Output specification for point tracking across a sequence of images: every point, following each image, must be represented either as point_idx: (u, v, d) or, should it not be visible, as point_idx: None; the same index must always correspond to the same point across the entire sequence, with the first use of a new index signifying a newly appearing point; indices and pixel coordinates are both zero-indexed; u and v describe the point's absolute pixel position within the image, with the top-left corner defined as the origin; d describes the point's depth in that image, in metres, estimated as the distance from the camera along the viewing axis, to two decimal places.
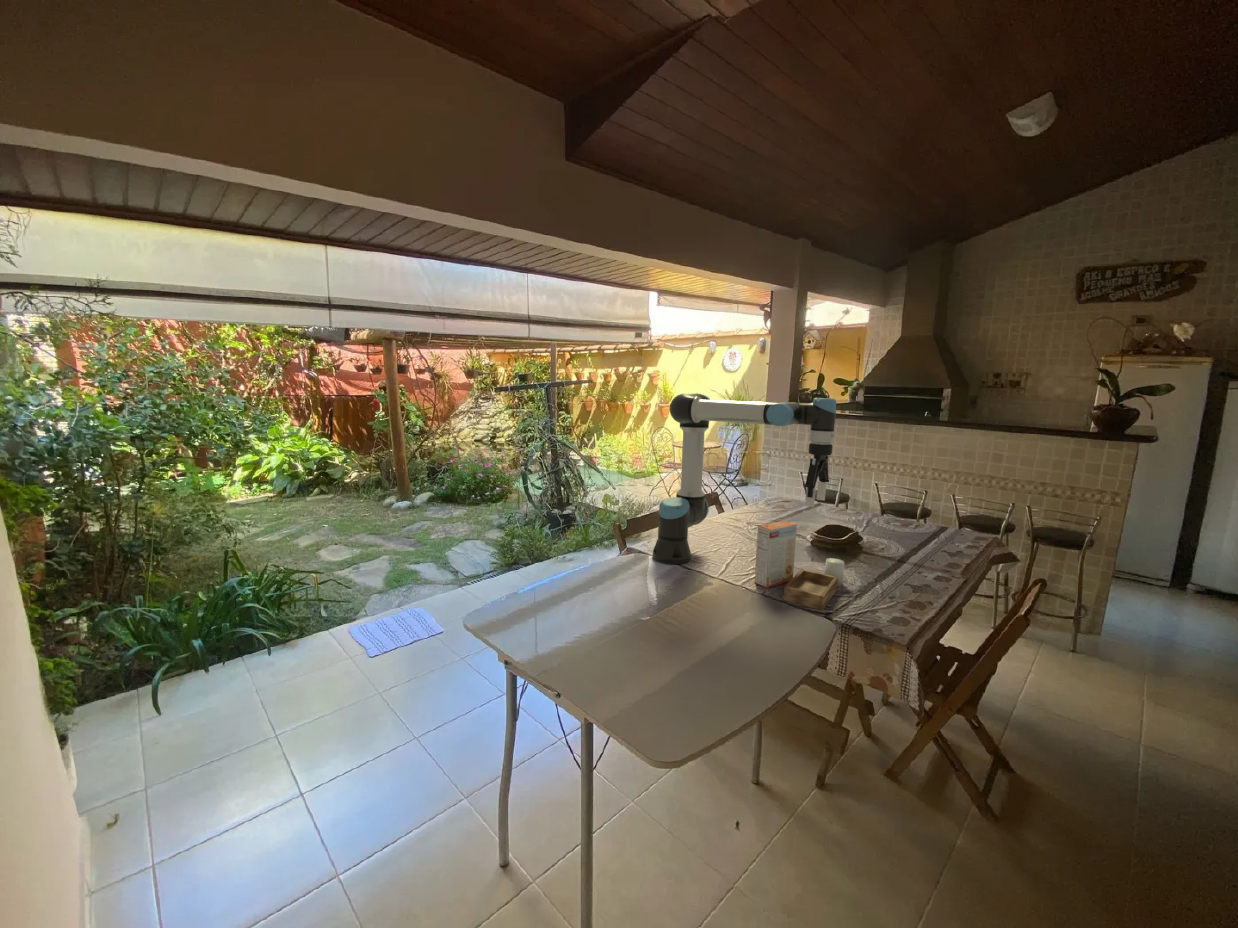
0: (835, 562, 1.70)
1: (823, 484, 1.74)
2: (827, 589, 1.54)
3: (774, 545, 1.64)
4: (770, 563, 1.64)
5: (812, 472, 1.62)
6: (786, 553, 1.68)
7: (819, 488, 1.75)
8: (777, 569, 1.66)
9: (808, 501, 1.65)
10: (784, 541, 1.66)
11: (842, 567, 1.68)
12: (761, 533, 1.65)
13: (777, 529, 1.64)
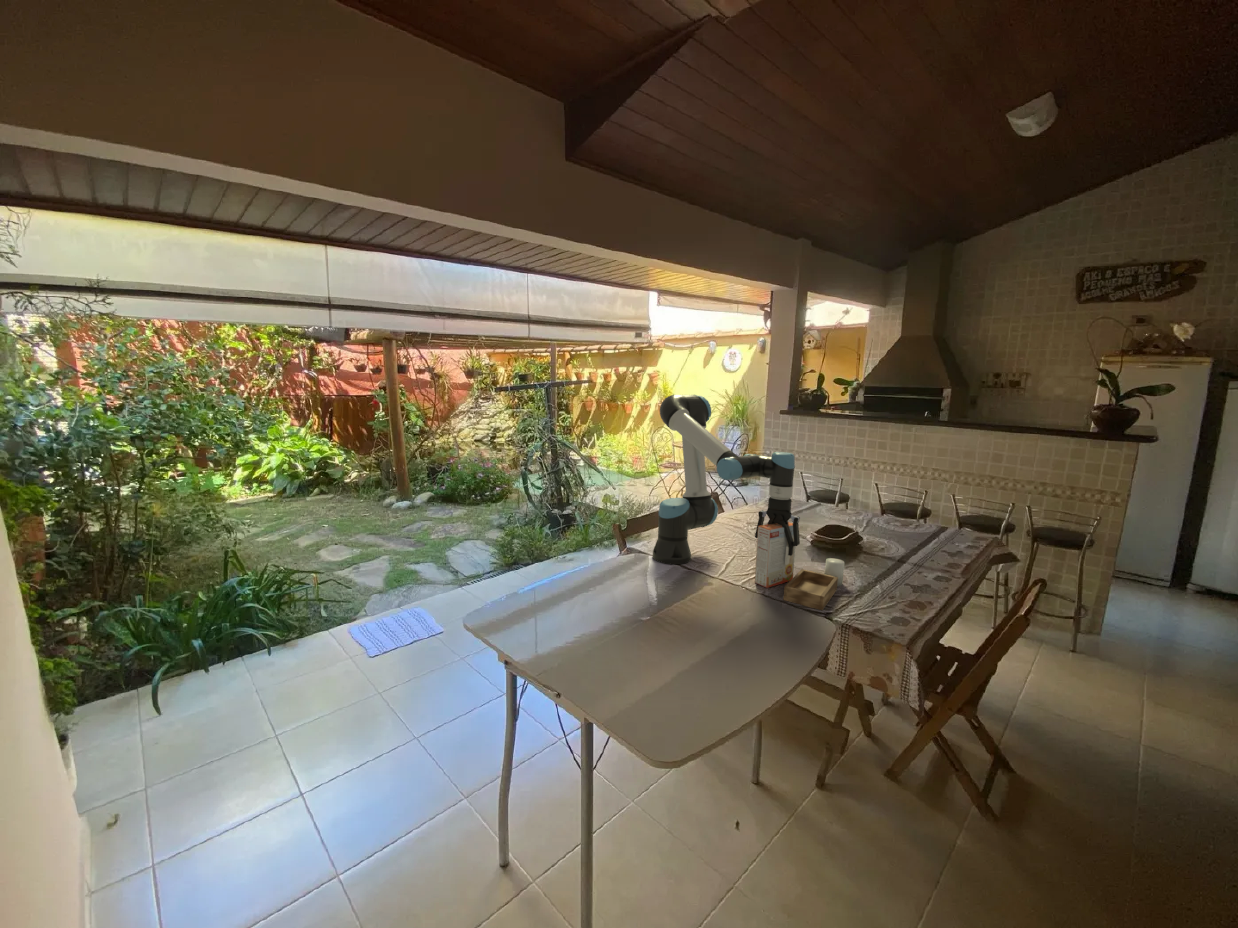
0: (835, 562, 1.70)
1: None
2: (827, 589, 1.54)
3: (774, 545, 1.64)
4: (770, 563, 1.64)
5: None
6: None
7: None
8: (777, 569, 1.66)
9: None
10: (784, 541, 1.66)
11: (842, 567, 1.68)
12: (761, 533, 1.65)
13: (777, 529, 1.64)
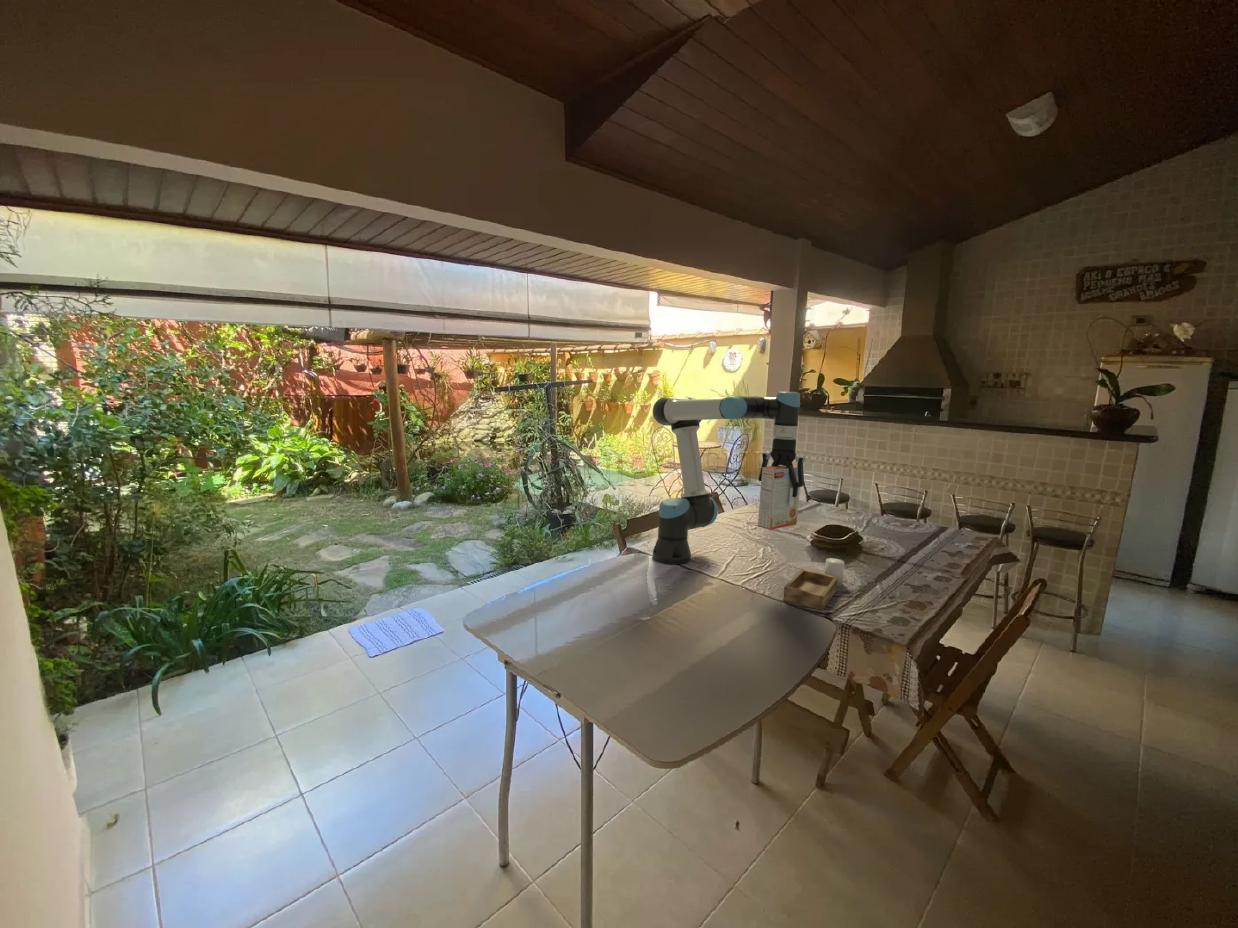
0: (835, 562, 1.70)
1: None
2: (827, 589, 1.54)
3: (778, 486, 1.61)
4: (774, 504, 1.61)
5: None
6: None
7: None
8: (781, 511, 1.64)
9: None
10: (788, 482, 1.63)
11: (842, 567, 1.68)
12: (766, 474, 1.62)
13: (782, 469, 1.61)
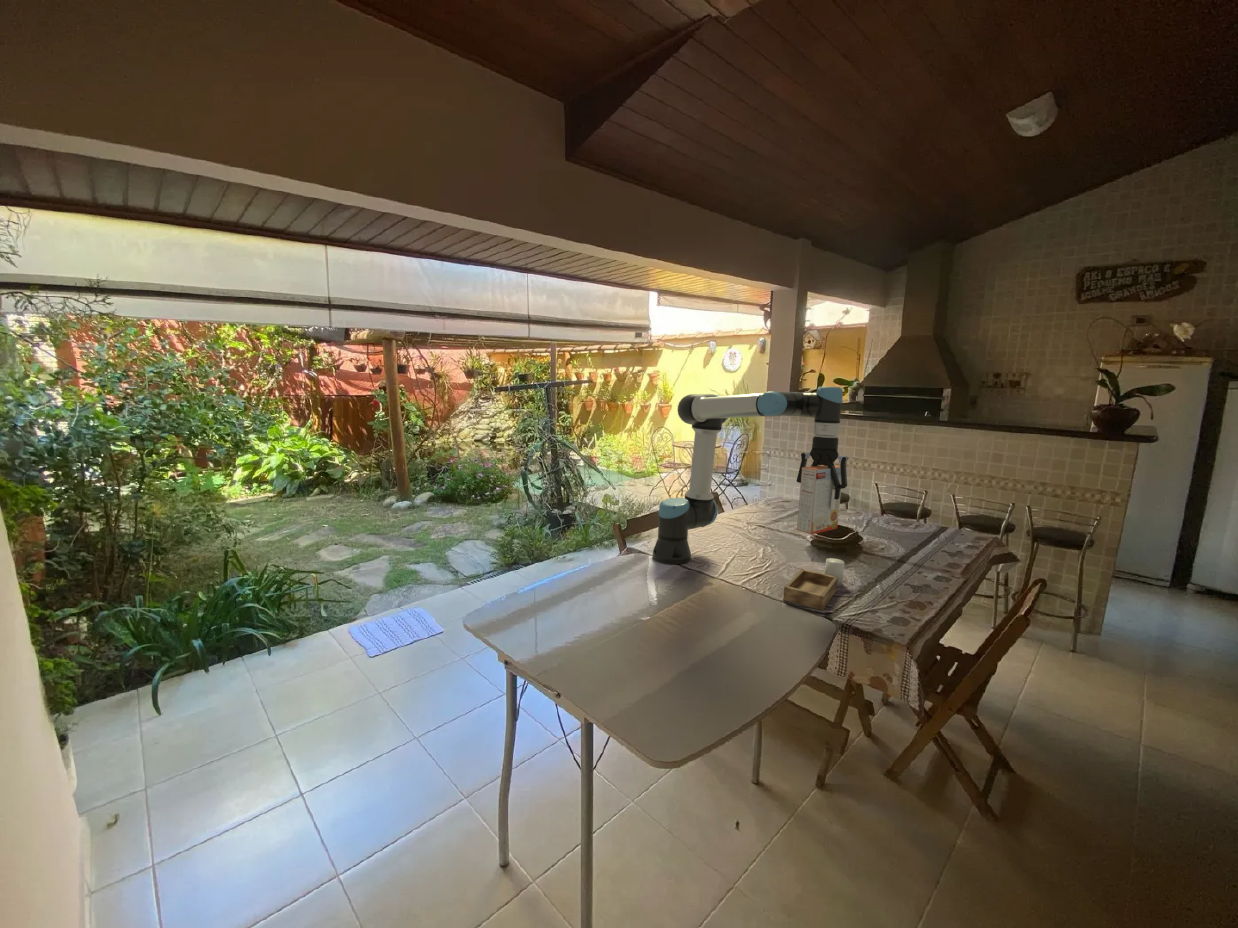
0: (835, 562, 1.70)
1: None
2: (827, 589, 1.54)
3: (820, 487, 1.50)
4: (816, 507, 1.51)
5: None
6: None
7: None
8: (822, 514, 1.53)
9: None
10: (830, 484, 1.53)
11: (842, 567, 1.68)
12: (806, 475, 1.51)
13: (824, 470, 1.50)
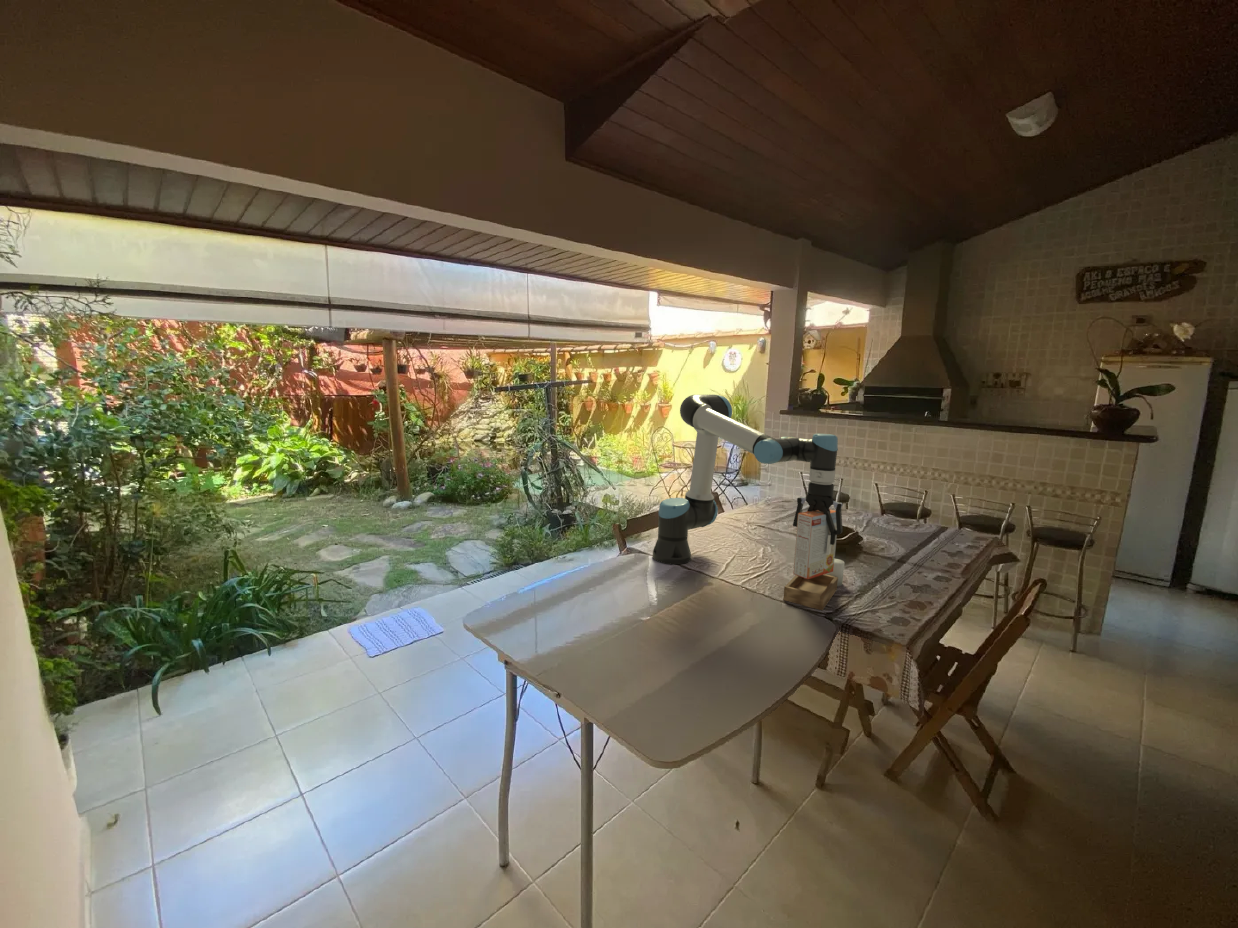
0: (835, 562, 1.70)
1: None
2: (827, 589, 1.54)
3: (816, 534, 1.53)
4: (812, 552, 1.53)
5: None
6: None
7: None
8: (818, 559, 1.55)
9: None
10: (826, 529, 1.55)
11: (842, 567, 1.68)
12: (802, 521, 1.54)
13: (819, 516, 1.52)
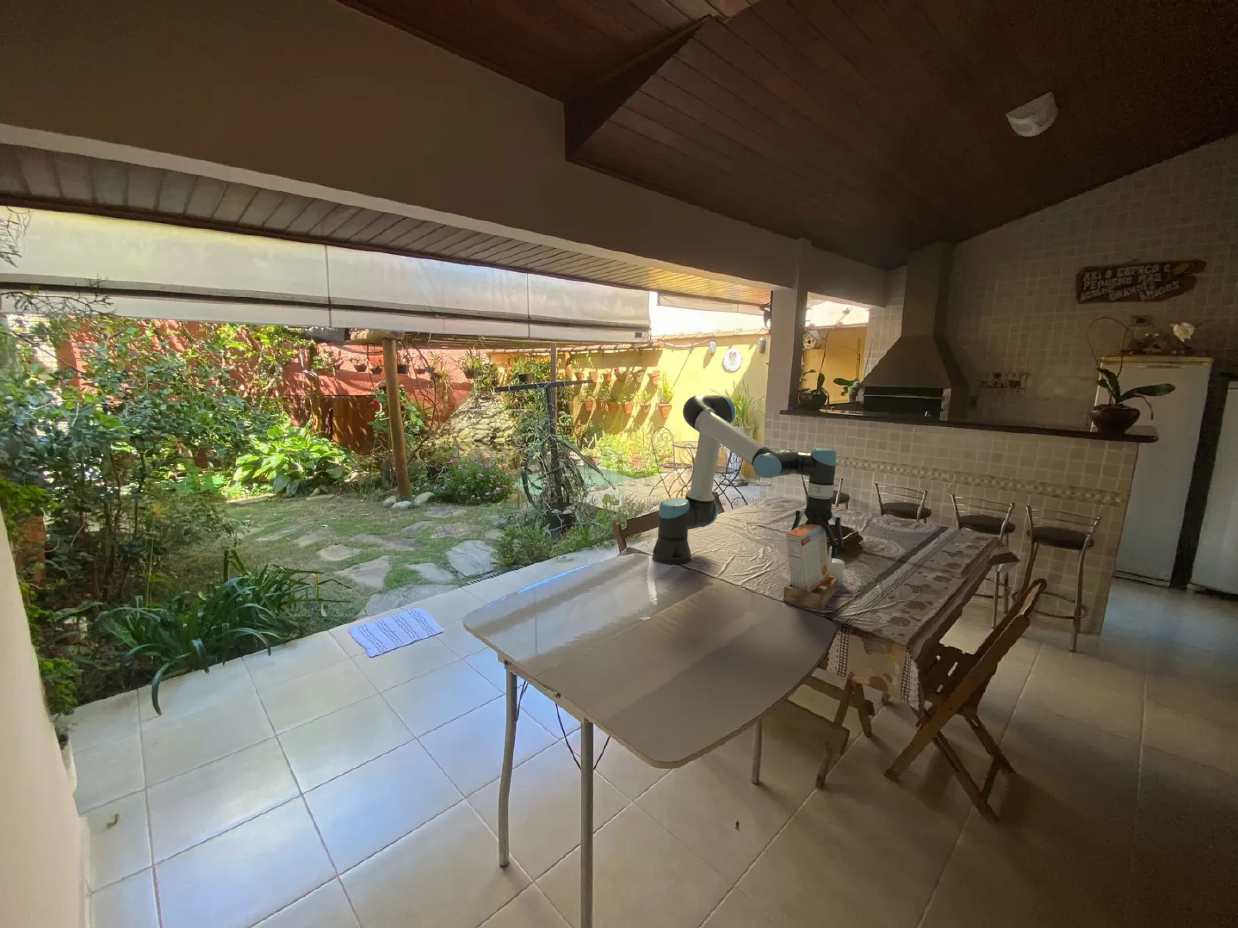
0: (835, 562, 1.70)
1: None
2: (827, 589, 1.54)
3: (807, 551, 1.52)
4: (806, 570, 1.53)
5: None
6: (819, 554, 1.57)
7: None
8: (813, 573, 1.55)
9: None
10: (816, 543, 1.55)
11: (842, 567, 1.68)
12: (791, 541, 1.53)
13: (807, 534, 1.52)
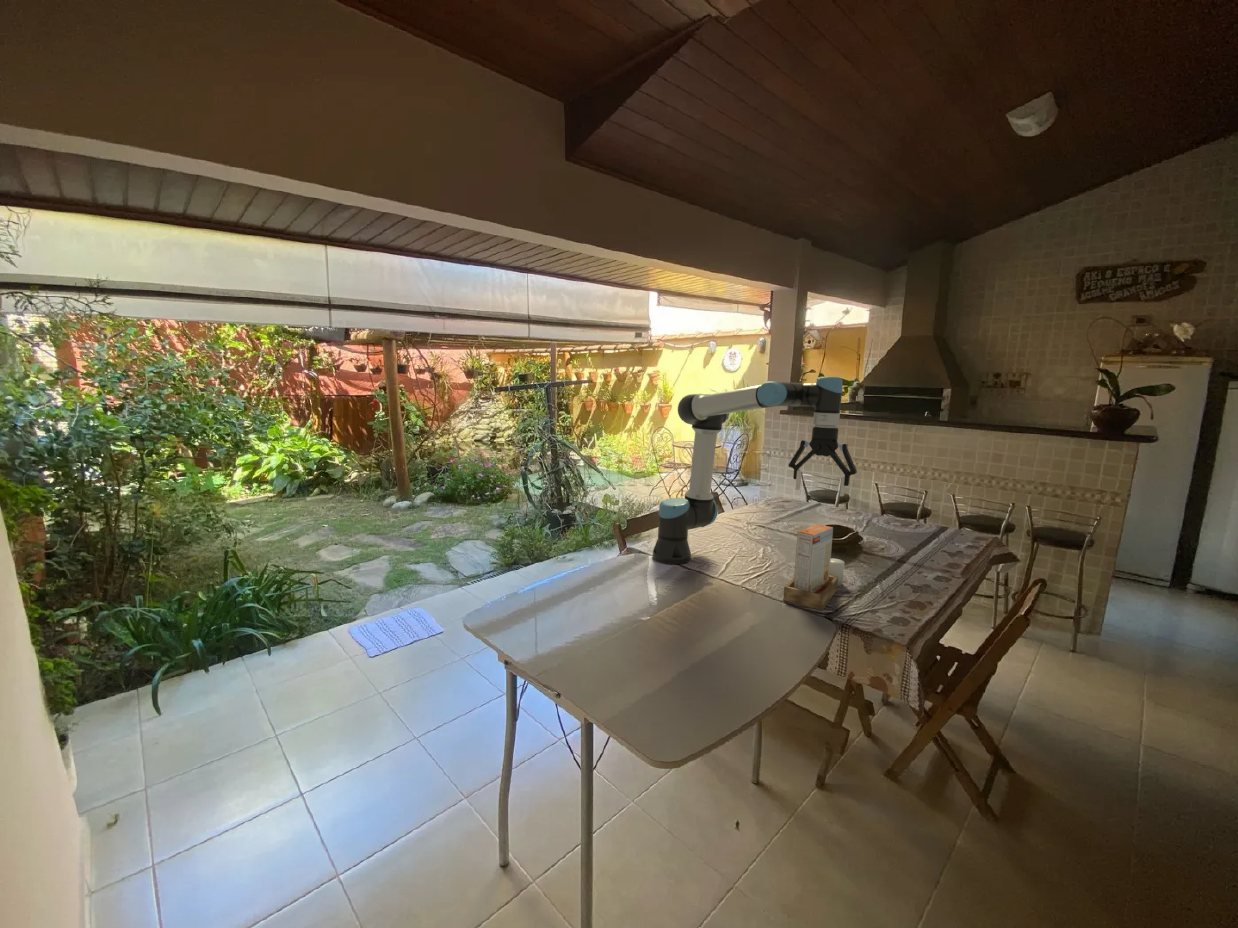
0: (835, 562, 1.70)
1: None
2: (827, 589, 1.54)
3: (816, 551, 1.54)
4: (812, 570, 1.54)
5: None
6: (824, 558, 1.59)
7: None
8: (817, 576, 1.57)
9: None
10: (823, 546, 1.57)
11: (842, 567, 1.68)
12: (802, 539, 1.55)
13: (818, 534, 1.54)
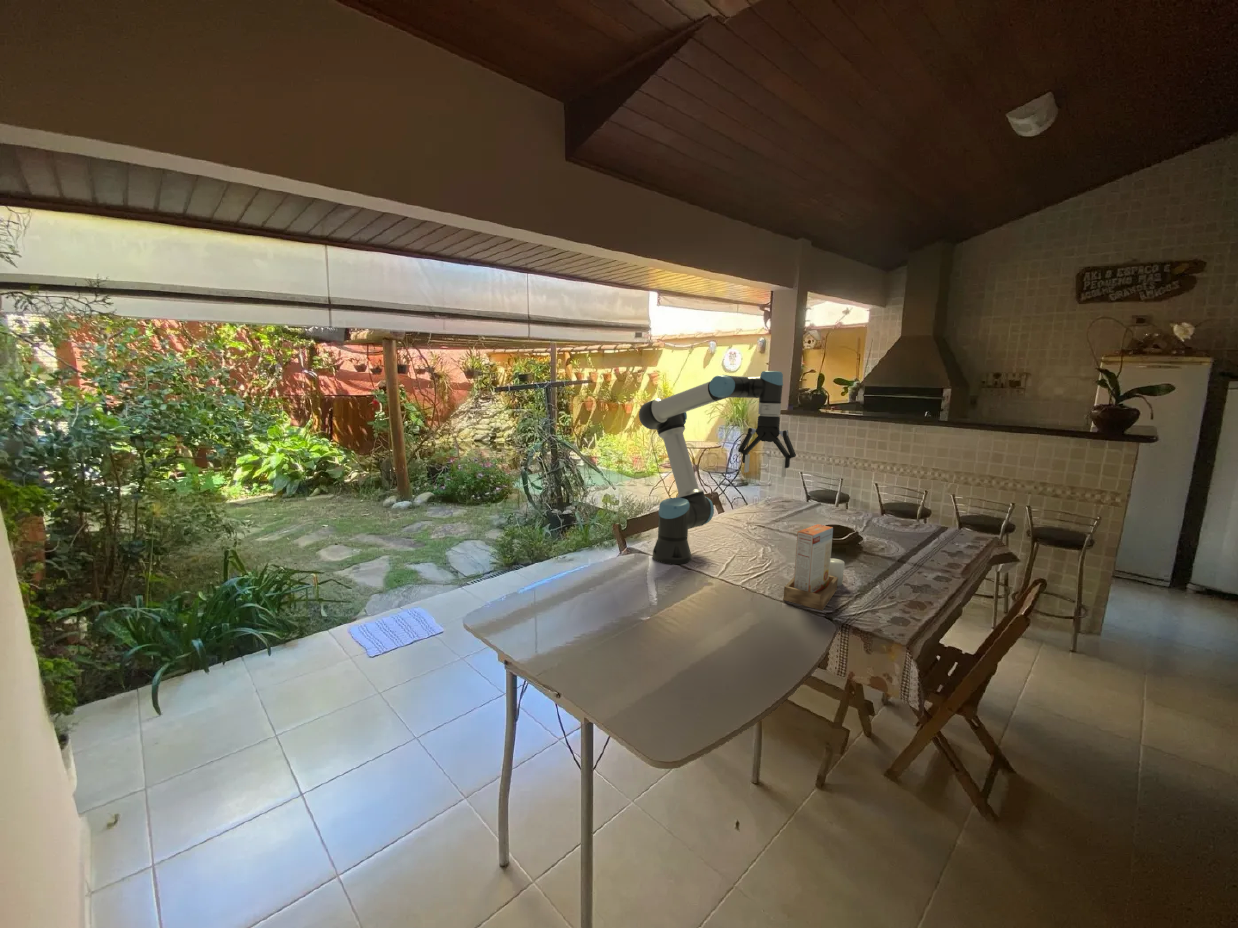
0: (835, 562, 1.70)
1: None
2: (827, 589, 1.54)
3: (816, 551, 1.54)
4: (812, 570, 1.54)
5: None
6: (824, 558, 1.59)
7: None
8: (817, 576, 1.57)
9: None
10: (823, 546, 1.57)
11: (842, 567, 1.68)
12: (802, 539, 1.55)
13: (818, 534, 1.54)
